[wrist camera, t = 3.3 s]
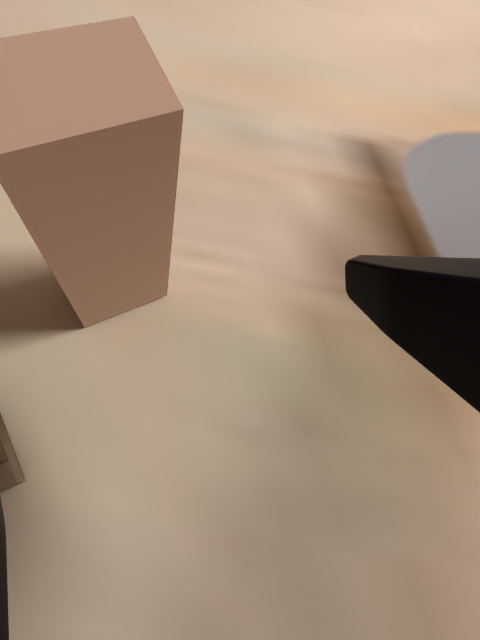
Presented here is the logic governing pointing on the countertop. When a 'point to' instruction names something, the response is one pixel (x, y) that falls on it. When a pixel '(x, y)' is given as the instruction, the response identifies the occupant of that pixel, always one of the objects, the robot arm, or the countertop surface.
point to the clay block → (92, 160)
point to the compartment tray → (8, 461)
